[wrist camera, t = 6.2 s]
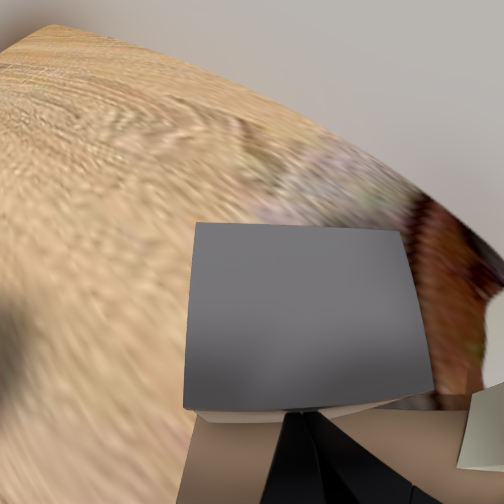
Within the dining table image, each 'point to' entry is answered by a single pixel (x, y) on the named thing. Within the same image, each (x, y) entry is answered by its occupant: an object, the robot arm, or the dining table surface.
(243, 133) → the dining table surface
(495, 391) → the pale green cabinet
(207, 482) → the tan wooden board
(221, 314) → the white toy cabinet
